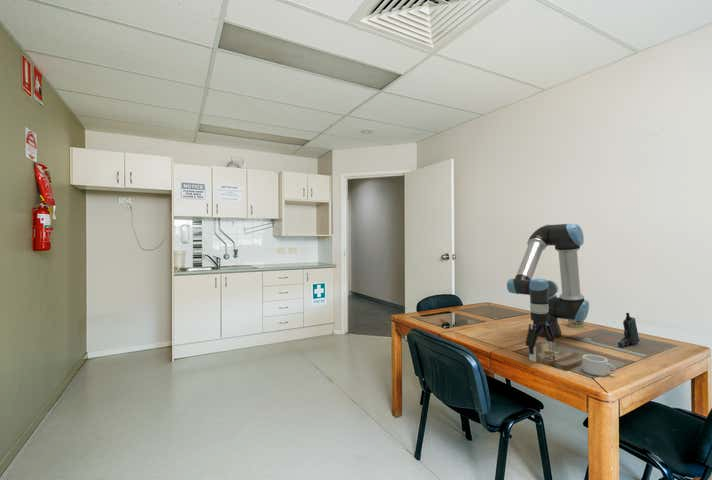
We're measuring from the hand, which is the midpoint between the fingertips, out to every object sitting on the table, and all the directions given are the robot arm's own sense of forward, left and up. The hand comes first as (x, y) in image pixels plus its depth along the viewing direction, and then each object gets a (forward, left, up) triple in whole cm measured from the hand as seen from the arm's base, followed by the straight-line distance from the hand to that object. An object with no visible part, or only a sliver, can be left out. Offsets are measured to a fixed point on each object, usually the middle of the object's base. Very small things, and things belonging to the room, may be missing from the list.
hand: (540, 357), depth 154 cm
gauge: (+3, 0, -1) cm, 3 cm away
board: (+8, +7, -1) cm, 11 cm away
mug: (+21, +6, -2) cm, 22 cm away
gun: (+14, +56, -1) cm, 58 cm away
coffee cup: (-19, +73, -1) cm, 75 cm away
